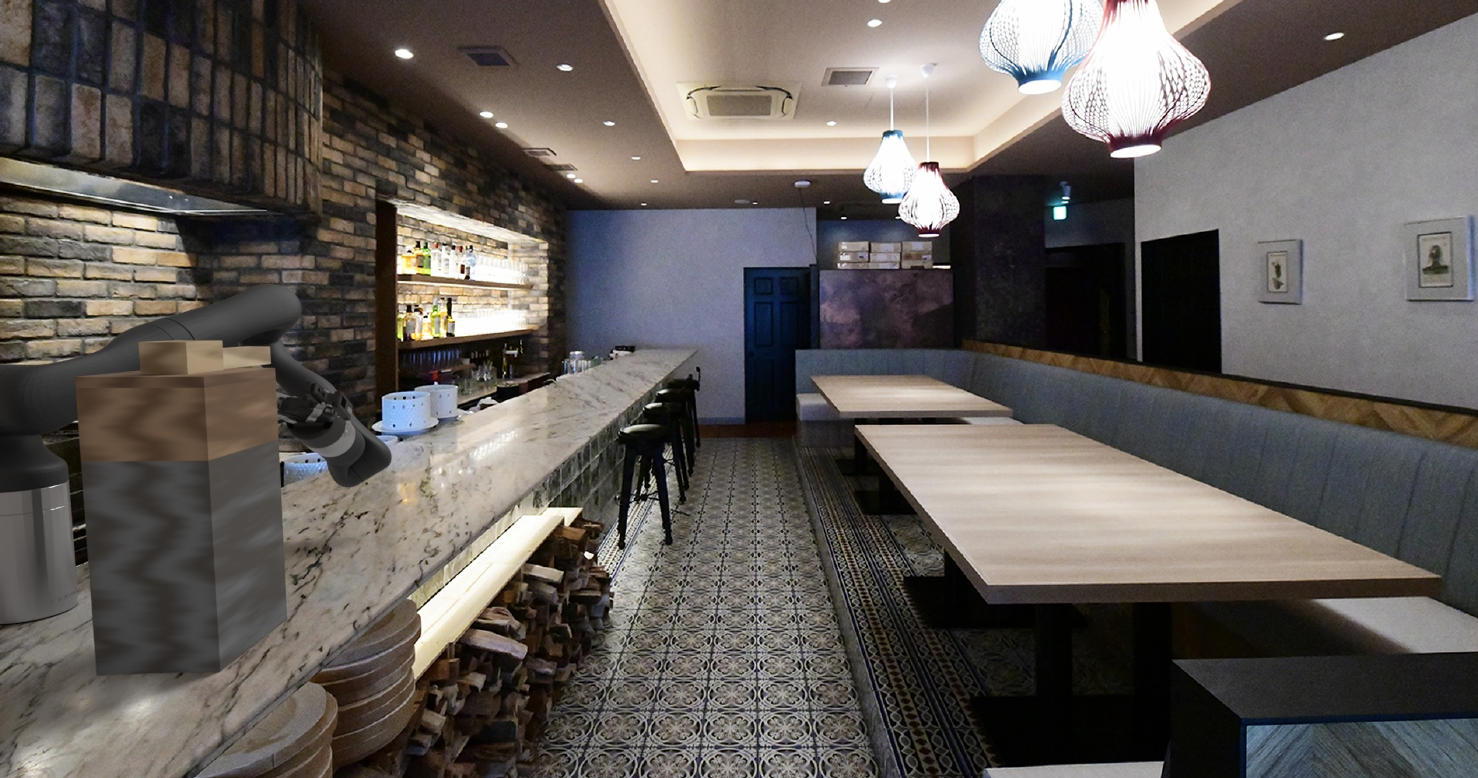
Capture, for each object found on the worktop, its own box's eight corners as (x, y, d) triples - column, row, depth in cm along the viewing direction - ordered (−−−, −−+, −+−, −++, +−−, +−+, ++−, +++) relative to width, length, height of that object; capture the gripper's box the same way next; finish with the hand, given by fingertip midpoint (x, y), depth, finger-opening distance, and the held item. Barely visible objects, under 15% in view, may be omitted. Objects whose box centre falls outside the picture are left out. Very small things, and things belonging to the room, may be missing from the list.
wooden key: (140, 374, 85) (138, 342, 85) (240, 363, 105) (239, 337, 105) (187, 374, 86) (185, 342, 86) (278, 363, 106) (277, 337, 105)
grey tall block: (96, 675, 84) (74, 376, 81) (182, 621, 99) (167, 367, 96) (220, 671, 85) (203, 376, 82) (287, 618, 100) (275, 367, 97)
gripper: (282, 406, 126) (231, 362, 111) (371, 406, 127) (332, 362, 112) (272, 449, 123) (218, 409, 108) (364, 448, 124) (323, 409, 109)
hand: (276, 385), depth 110 cm, fingers open, 8 cm apart
